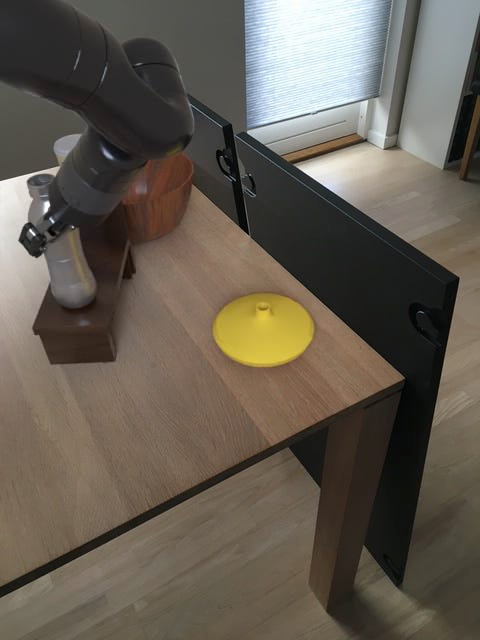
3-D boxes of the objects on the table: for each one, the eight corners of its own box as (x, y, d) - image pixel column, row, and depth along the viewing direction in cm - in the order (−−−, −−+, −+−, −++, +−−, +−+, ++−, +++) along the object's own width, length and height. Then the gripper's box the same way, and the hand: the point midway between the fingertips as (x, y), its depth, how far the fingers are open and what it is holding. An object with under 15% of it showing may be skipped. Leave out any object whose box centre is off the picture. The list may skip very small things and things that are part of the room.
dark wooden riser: (117, 362, 83) (92, 268, 71) (47, 366, 83) (9, 272, 71) (136, 270, 101) (118, 182, 89) (78, 272, 101) (52, 185, 89)
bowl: (218, 235, 109) (214, 183, 101) (97, 271, 101) (83, 218, 93) (174, 183, 126) (167, 136, 118) (67, 211, 118) (53, 162, 110)
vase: (235, 390, 78) (232, 356, 73) (200, 323, 89) (196, 290, 84) (331, 358, 82) (335, 324, 77) (287, 298, 93) (287, 265, 88)
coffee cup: (70, 206, 120) (56, 154, 112) (63, 187, 126) (49, 138, 118) (111, 196, 122) (100, 145, 114) (102, 179, 129) (91, 130, 121)
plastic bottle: (77, 282, 85) (41, 164, 72) (109, 295, 83) (77, 175, 69) (47, 304, 81) (2, 184, 68) (79, 319, 79) (39, 196, 65)
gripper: (114, 135, 66) (74, 196, 80) (18, 183, 58) (-9, 242, 71) (152, 185, 67) (106, 237, 81) (64, 239, 59) (28, 287, 72)
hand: (52, 239), depth 76 cm, fingers closed on plastic bottle, 6 cm apart
